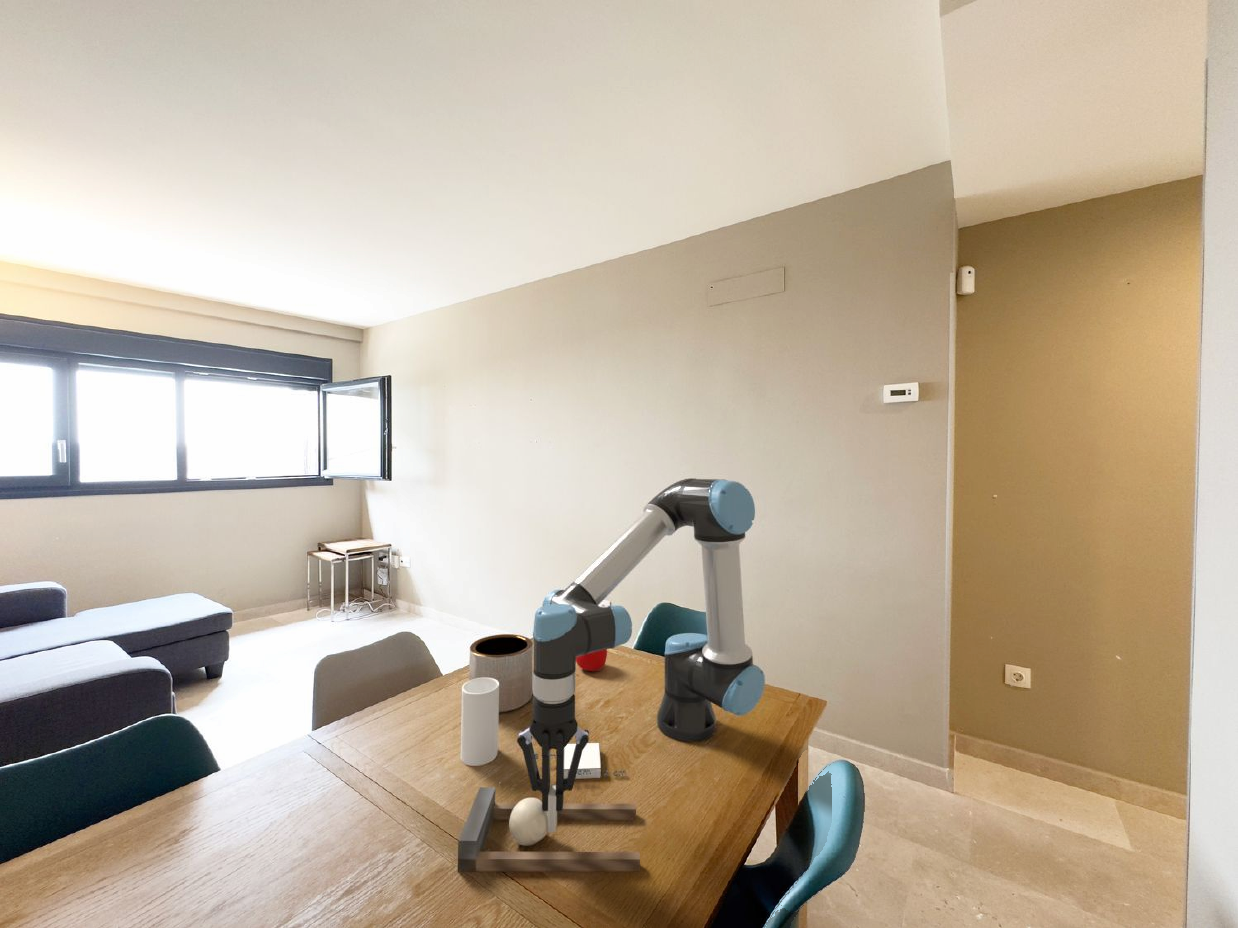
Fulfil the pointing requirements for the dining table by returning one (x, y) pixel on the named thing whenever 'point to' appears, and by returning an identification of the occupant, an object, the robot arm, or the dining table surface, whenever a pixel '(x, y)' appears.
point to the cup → (479, 721)
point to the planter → (505, 667)
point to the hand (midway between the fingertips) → (552, 826)
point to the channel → (539, 861)
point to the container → (584, 761)
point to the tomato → (592, 660)
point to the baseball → (528, 822)
